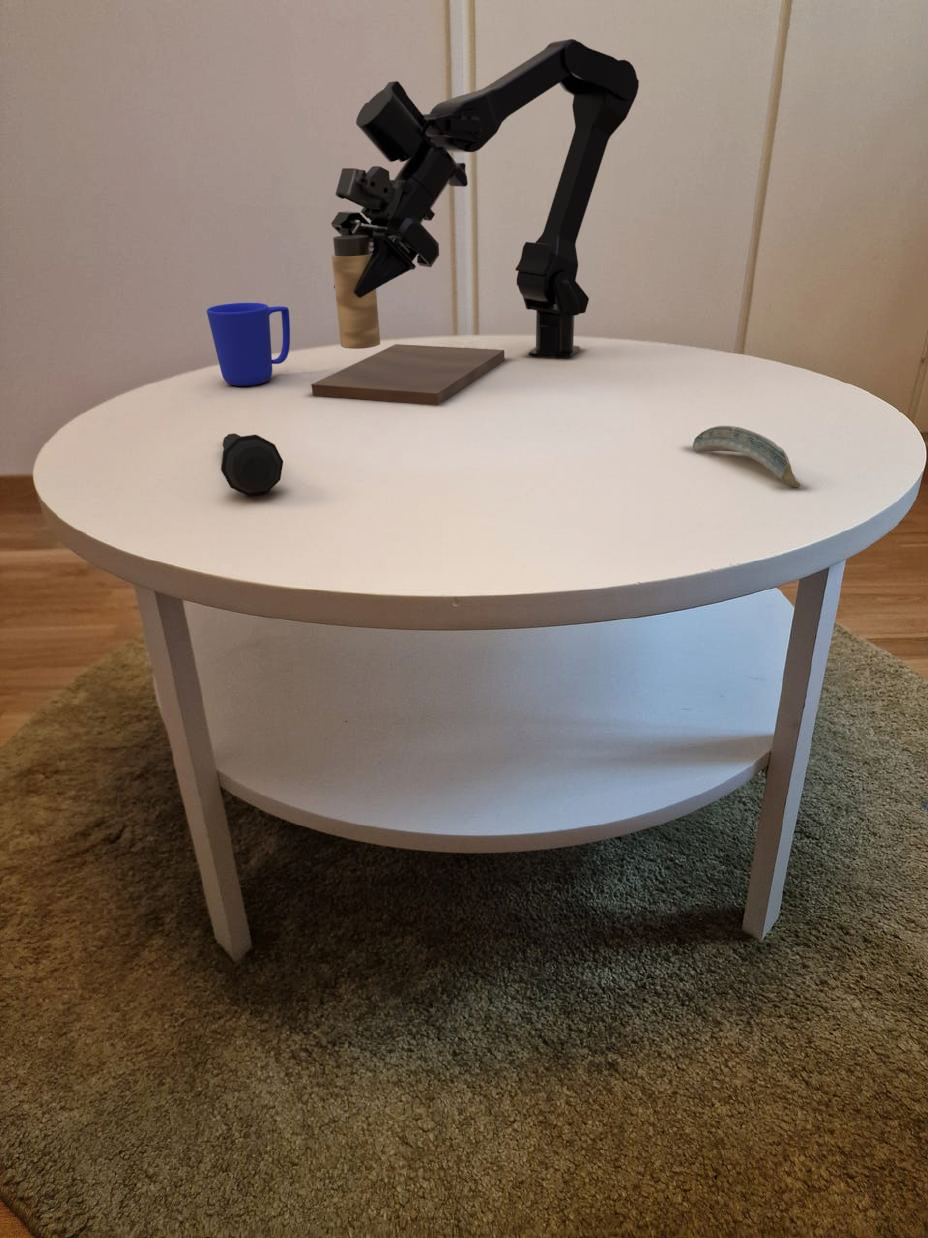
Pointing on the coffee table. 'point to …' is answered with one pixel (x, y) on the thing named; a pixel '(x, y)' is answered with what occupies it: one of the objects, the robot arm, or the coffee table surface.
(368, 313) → the pepper mill
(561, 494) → the coffee table surface
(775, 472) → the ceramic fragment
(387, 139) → the robot arm
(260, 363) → the mug
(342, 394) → the cutting board
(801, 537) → the coffee table surface
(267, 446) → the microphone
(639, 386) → the coffee table surface
